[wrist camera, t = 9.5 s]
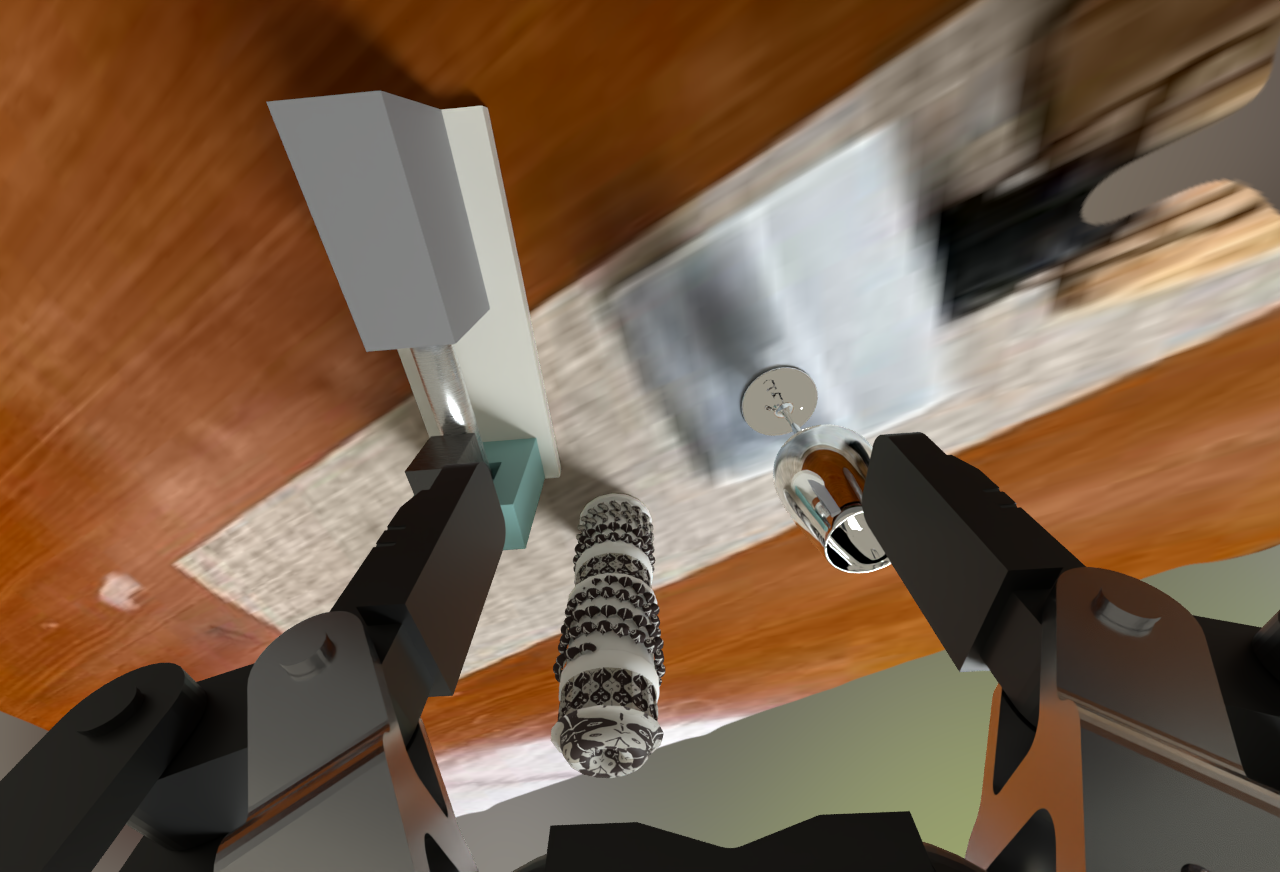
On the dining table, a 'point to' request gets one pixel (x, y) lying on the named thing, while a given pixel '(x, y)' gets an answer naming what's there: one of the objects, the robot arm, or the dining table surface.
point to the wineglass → (816, 469)
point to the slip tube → (445, 417)
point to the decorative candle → (610, 644)
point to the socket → (516, 485)
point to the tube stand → (424, 246)
